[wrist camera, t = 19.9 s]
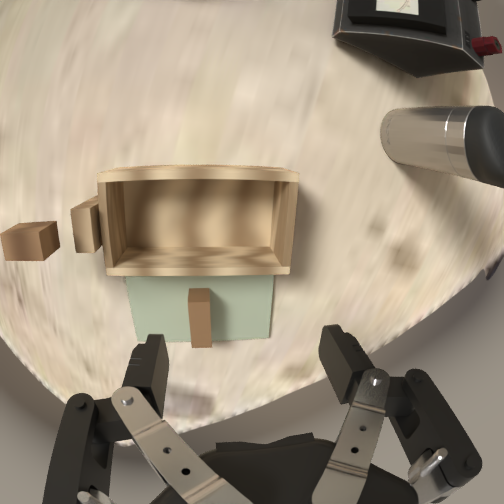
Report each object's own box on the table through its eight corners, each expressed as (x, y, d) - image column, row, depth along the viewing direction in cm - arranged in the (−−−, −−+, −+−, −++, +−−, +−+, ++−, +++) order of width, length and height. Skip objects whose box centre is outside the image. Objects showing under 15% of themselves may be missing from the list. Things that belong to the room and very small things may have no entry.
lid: (271, 269, 43) (280, 286, 38) (266, 332, 47) (273, 353, 42) (127, 272, 39) (118, 289, 34) (139, 335, 44) (133, 356, 39)
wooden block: (56, 221, 25) (38, 232, 21) (60, 247, 26) (43, 260, 22) (18, 223, 24) (0, 234, 20) (23, 247, 25) (5, 260, 21)
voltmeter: (335, -29, 25) (398, -85, 7) (414, 11, 29) (490, -15, 10) (326, 39, 31) (407, -15, 12) (411, 79, 34) (505, 67, 16)
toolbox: (280, 167, 37) (303, 174, 28) (274, 250, 41) (292, 279, 32) (98, 169, 33) (68, 177, 24) (105, 251, 37) (81, 280, 28)
